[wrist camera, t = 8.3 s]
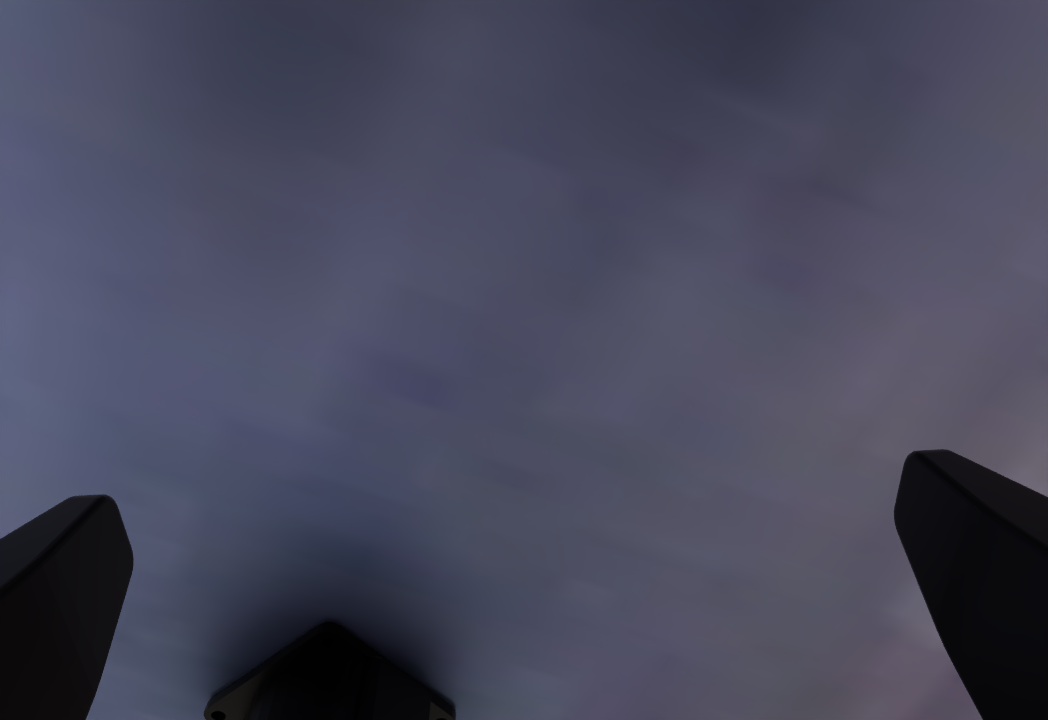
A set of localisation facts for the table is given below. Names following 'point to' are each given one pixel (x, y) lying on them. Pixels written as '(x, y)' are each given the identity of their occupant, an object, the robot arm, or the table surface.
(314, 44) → the table surface
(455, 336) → the table surface
